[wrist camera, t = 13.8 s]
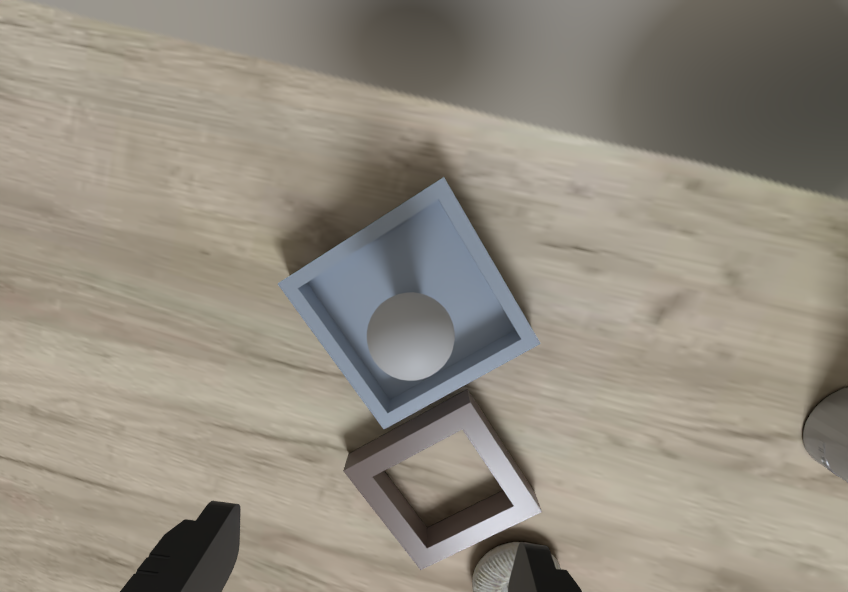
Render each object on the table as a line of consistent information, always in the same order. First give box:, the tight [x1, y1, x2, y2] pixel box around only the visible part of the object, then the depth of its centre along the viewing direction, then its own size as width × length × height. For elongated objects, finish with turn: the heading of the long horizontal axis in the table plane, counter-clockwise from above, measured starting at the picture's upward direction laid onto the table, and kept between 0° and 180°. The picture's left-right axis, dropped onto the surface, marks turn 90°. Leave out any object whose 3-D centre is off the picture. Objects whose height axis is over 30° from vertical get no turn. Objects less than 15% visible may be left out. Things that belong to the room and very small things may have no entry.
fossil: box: [472, 542, 561, 592], centre depth 42 cm, size 11×4×10 cm
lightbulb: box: [367, 292, 455, 381], centre depth 30 cm, size 6×6×11 cm
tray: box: [278, 177, 540, 429], centre depth 34 cm, size 16×16×3 cm
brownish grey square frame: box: [343, 389, 542, 570], centre depth 39 cm, size 14×14×2 cm
